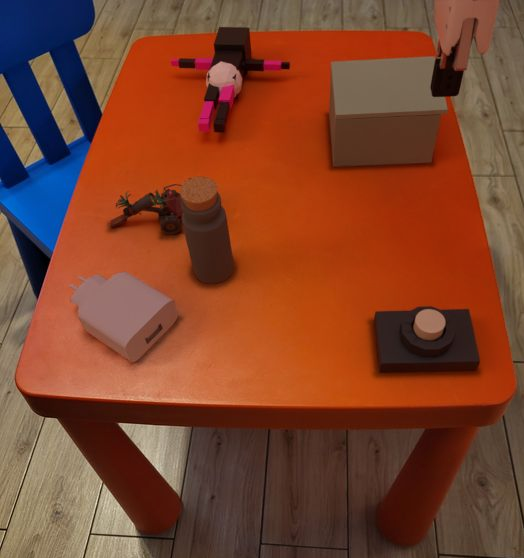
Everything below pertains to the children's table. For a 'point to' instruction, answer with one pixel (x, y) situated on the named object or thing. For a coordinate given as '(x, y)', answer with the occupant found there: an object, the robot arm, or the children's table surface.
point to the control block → (425, 343)
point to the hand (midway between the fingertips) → (443, 92)
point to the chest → (382, 138)
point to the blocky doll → (226, 73)
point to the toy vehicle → (154, 209)
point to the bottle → (206, 230)
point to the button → (429, 324)
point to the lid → (385, 88)
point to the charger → (123, 312)
